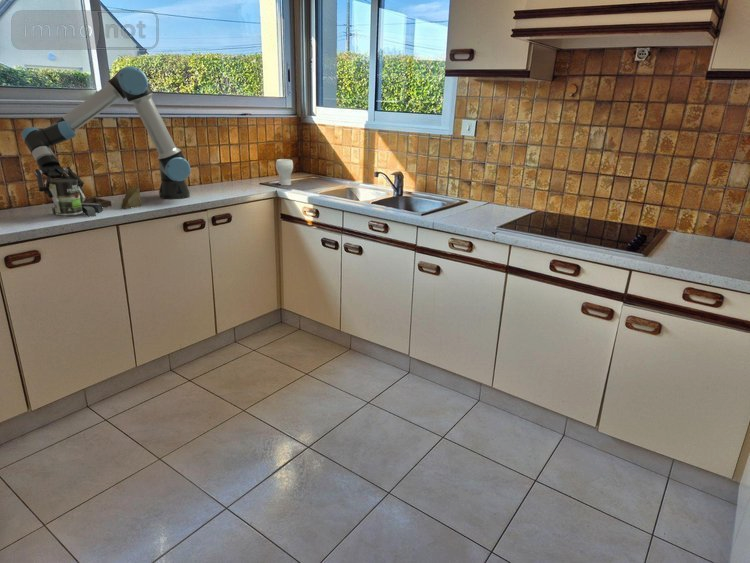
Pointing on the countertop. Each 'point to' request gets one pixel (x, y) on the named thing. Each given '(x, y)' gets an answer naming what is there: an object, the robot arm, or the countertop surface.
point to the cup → (284, 170)
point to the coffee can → (67, 196)
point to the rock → (131, 198)
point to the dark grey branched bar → (88, 209)
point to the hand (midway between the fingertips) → (70, 201)
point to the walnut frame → (97, 201)
